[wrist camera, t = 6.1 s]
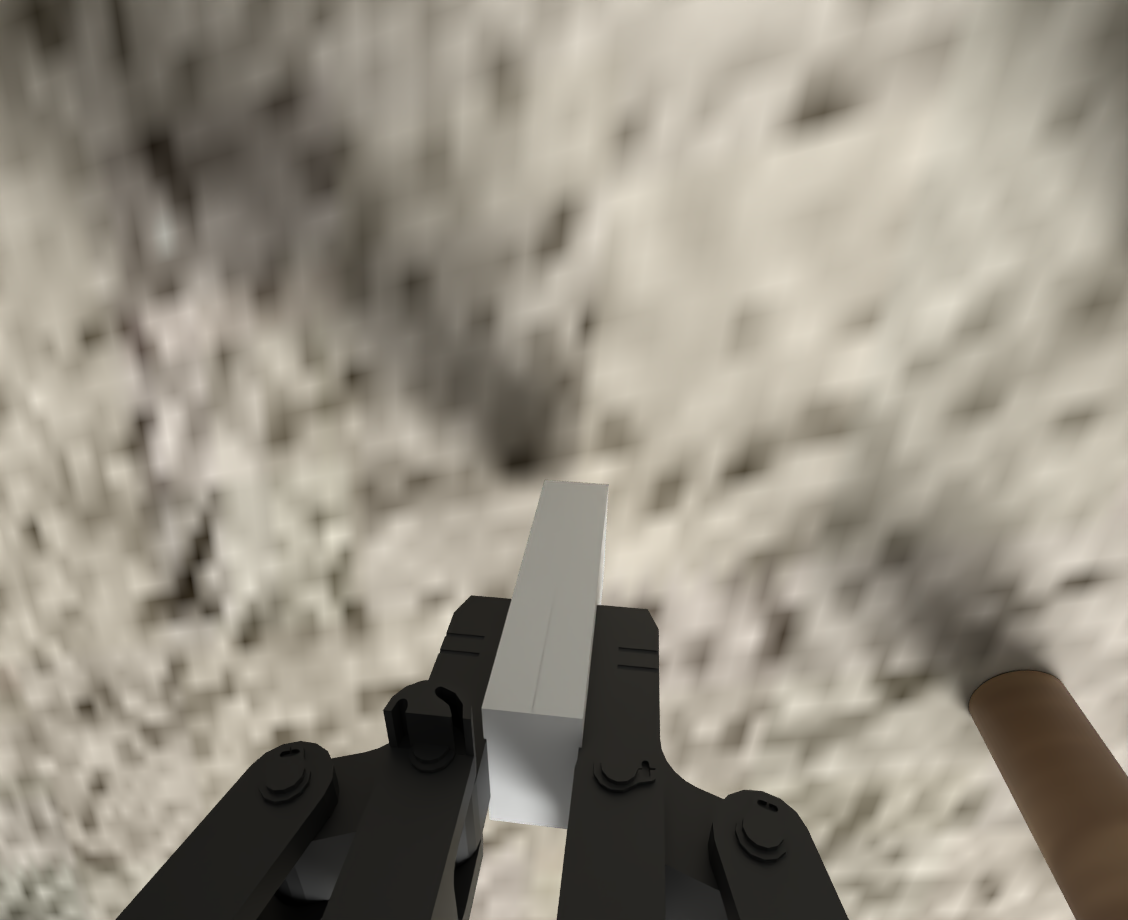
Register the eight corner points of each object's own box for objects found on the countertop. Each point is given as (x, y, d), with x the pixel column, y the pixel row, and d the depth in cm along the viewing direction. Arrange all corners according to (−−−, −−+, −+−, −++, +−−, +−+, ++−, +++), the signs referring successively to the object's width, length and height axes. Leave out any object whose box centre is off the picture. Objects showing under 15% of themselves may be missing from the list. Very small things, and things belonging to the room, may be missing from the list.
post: (985, 666, 19) (1222, 1075, 11) (1082, 675, 18) (1396, 1100, 11) (957, 727, 20) (1152, 1132, 12) (1047, 736, 20) (1306, 1155, 12)
